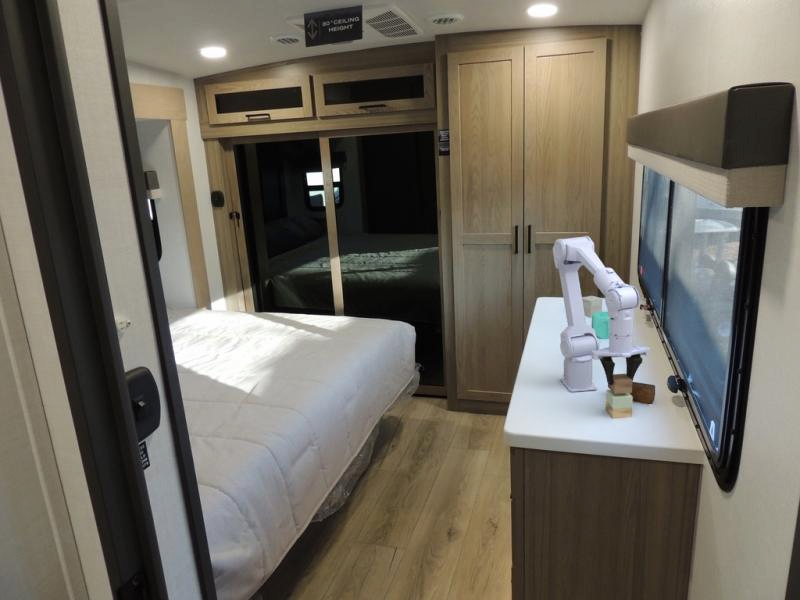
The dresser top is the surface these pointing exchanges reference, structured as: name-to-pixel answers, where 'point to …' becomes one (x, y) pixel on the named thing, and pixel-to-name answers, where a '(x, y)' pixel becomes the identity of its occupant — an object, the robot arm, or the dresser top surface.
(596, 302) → the product box
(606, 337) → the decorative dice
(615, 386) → the walnut block
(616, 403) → the sage block
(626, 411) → the oak block
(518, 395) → the dresser top surface
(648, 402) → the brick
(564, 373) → the robot arm
